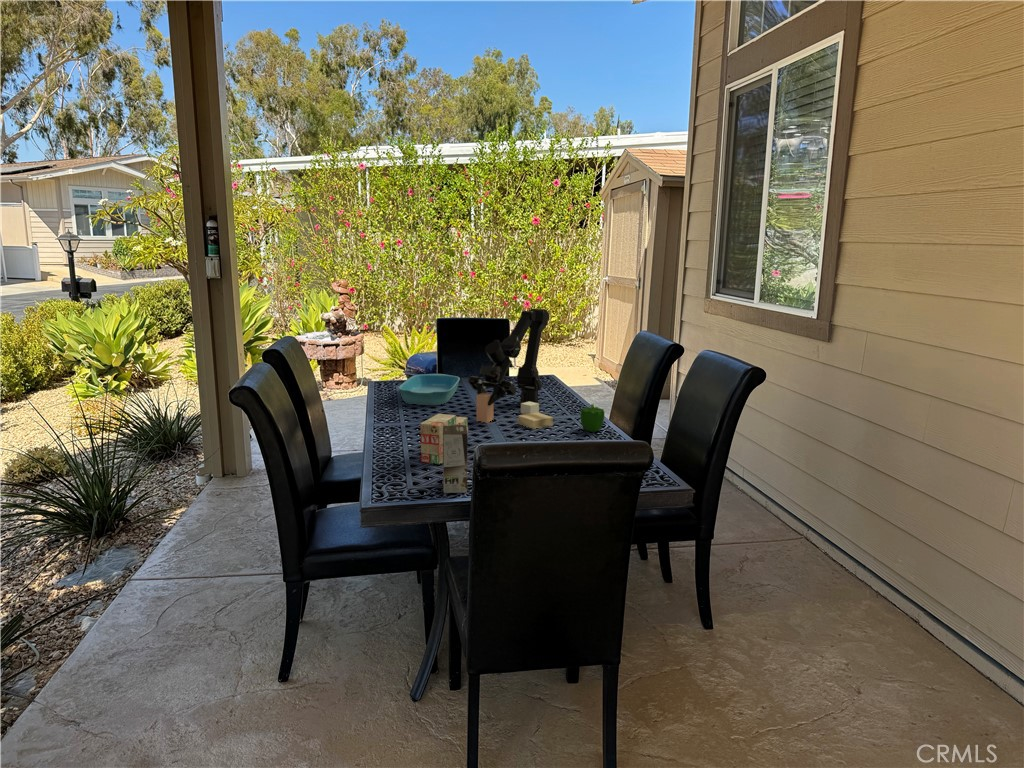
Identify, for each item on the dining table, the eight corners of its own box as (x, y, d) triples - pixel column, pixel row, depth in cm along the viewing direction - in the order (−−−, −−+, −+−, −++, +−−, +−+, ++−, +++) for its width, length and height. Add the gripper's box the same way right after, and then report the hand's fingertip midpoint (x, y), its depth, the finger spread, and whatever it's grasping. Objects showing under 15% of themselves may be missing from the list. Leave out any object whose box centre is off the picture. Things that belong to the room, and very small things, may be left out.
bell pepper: (585, 425, 237) (586, 399, 235) (606, 429, 233) (608, 402, 231) (575, 431, 230) (576, 403, 228) (597, 434, 226) (598, 406, 224)
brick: (529, 411, 258) (529, 401, 257) (538, 413, 254) (539, 403, 253) (520, 413, 254) (520, 403, 253) (530, 415, 251) (530, 405, 250)
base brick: (537, 421, 244) (537, 412, 243) (552, 426, 237) (553, 417, 236) (518, 424, 239) (518, 415, 238) (533, 430, 231) (533, 420, 231)
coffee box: (467, 493, 171) (467, 433, 168) (443, 493, 170) (442, 434, 167) (466, 480, 180) (466, 424, 177) (443, 481, 179) (442, 424, 176)
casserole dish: (448, 409, 259) (448, 391, 258) (393, 407, 261) (392, 389, 259) (463, 389, 295) (463, 374, 293) (415, 388, 297) (414, 372, 295)
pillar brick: (483, 418, 245) (483, 392, 243) (493, 420, 243) (493, 394, 241) (476, 421, 241) (476, 394, 239) (486, 423, 239) (486, 396, 237)
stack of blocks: (451, 442, 215) (450, 406, 212) (468, 445, 213) (468, 408, 210) (420, 462, 195) (420, 422, 192) (439, 465, 193) (439, 424, 190)
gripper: (470, 354, 245) (453, 388, 238) (512, 359, 236) (496, 395, 229) (482, 372, 253) (465, 405, 246) (523, 377, 244) (507, 412, 237)
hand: (482, 404), depth 239 cm, fingers closed on pillar brick, 4 cm apart
